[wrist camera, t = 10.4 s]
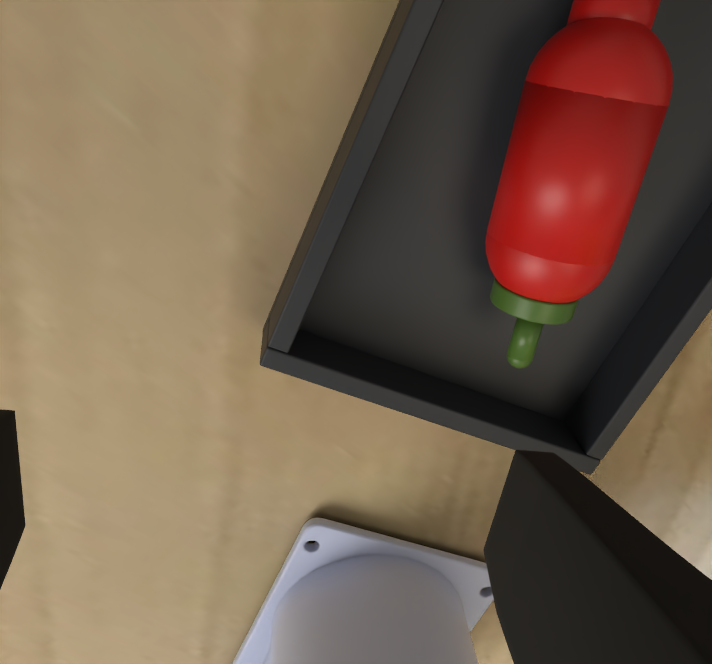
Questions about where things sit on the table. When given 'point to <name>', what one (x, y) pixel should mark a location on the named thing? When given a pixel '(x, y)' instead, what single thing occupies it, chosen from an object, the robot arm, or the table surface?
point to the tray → (468, 234)
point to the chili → (575, 163)
